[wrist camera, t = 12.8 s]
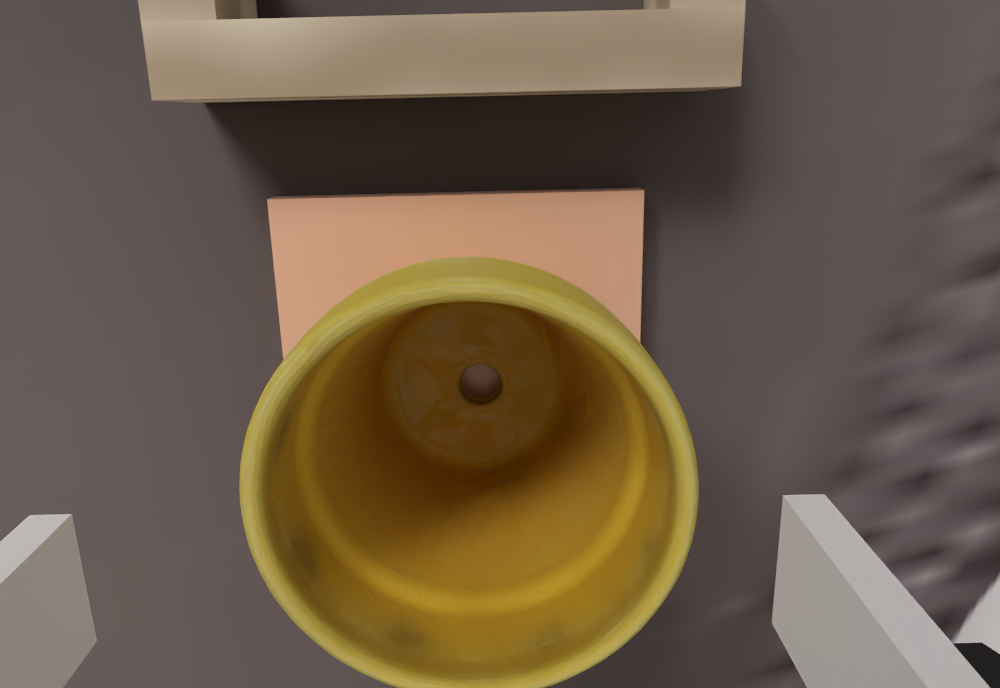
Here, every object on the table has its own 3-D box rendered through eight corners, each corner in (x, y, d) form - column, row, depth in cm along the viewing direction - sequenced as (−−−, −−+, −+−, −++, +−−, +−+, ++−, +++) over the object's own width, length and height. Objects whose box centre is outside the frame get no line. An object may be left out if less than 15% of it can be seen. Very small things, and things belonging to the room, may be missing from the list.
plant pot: (670, 264, 26) (770, 347, 17) (582, 538, 29) (625, 745, 19) (358, 183, 25) (278, 223, 16) (298, 474, 28) (200, 655, 19)
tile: (275, 196, 26) (267, 199, 25) (639, 187, 26) (644, 190, 25) (307, 523, 30) (301, 537, 29) (630, 515, 30) (635, 528, 29)
